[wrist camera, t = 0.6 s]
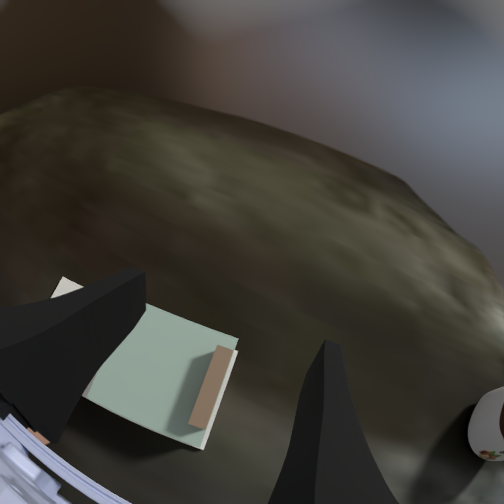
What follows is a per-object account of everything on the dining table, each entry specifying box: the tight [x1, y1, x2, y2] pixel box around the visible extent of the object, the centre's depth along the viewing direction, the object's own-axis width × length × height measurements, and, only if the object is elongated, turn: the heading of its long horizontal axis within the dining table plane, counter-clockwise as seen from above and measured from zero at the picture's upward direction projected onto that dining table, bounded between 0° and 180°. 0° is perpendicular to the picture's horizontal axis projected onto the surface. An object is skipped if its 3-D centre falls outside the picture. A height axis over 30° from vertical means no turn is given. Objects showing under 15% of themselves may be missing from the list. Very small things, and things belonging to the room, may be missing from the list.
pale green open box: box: [87, 303, 238, 448], centre depth 22 cm, size 9×9×7 cm
